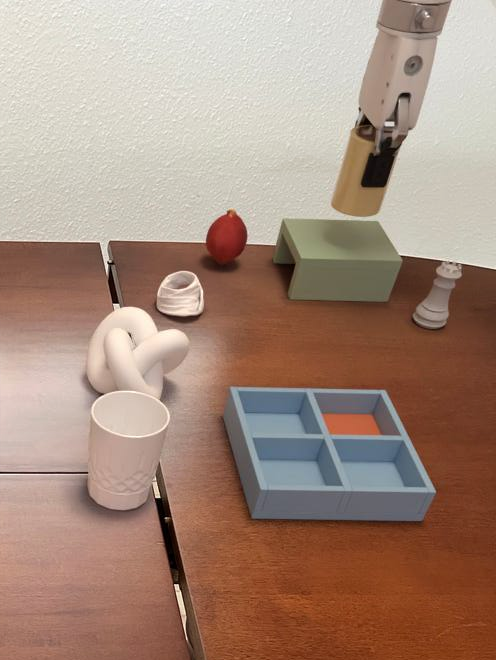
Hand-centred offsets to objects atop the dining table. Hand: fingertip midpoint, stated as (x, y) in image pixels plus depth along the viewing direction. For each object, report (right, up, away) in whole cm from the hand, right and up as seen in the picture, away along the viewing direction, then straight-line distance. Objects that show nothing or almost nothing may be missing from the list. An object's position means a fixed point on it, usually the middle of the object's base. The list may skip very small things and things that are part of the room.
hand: (365, 173), depth 117 cm
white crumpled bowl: (-24, -16, +5) cm, 29 cm away
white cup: (-35, -46, -21) cm, 61 cm away
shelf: (-1, -9, +11) cm, 15 cm away
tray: (-12, -42, -17) cm, 47 cm away
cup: (0, -3, +3) cm, 4 cm away
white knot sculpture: (-32, -32, -9) cm, 47 cm away
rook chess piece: (+10, -18, +5) cm, 21 cm away
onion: (-16, -6, +14) cm, 22 cm away
